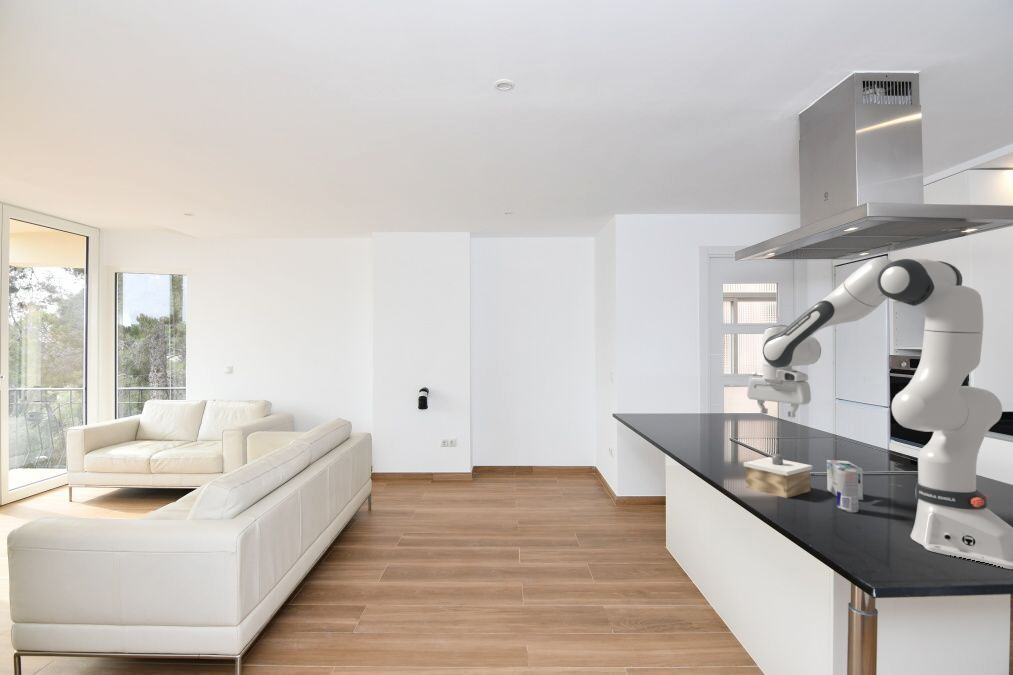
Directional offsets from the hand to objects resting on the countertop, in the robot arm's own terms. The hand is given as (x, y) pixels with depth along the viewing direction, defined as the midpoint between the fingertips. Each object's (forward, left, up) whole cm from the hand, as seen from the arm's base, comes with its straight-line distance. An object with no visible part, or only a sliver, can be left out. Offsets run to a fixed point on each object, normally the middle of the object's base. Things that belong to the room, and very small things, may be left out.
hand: (777, 415), depth 175 cm
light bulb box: (-15, -12, -26) cm, 32 cm away
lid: (0, 0, -18) cm, 18 cm away
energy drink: (-22, +1, -26) cm, 34 cm away
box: (0, 0, -25) cm, 25 cm away
